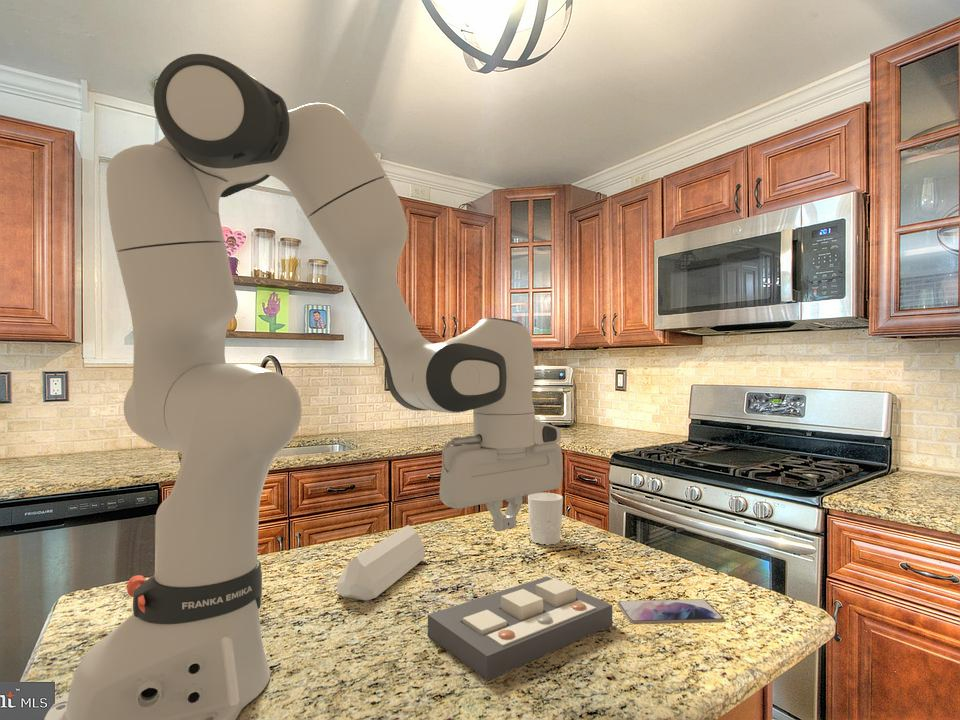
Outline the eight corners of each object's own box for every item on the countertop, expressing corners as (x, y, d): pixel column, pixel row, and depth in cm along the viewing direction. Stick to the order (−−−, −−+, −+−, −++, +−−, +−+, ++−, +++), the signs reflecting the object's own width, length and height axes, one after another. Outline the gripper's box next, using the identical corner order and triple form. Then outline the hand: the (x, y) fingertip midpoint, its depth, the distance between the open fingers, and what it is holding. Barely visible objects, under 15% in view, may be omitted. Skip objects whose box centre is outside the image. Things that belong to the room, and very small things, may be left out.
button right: (555, 614, 79) (555, 594, 79) (535, 604, 83) (535, 584, 83) (575, 606, 82) (575, 587, 82) (555, 596, 85) (555, 578, 85)
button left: (481, 652, 71) (481, 630, 71) (462, 639, 74) (462, 617, 74) (506, 642, 73) (506, 620, 73) (487, 630, 77) (487, 609, 77)
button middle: (520, 627, 75) (520, 606, 75) (501, 616, 78) (501, 596, 79) (543, 619, 78) (543, 598, 78) (523, 608, 81) (523, 588, 81)
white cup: (553, 548, 114) (553, 502, 114) (521, 542, 118) (521, 497, 119) (568, 539, 121) (568, 495, 121) (537, 533, 125) (537, 491, 125)
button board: (487, 680, 65) (487, 652, 65) (427, 635, 76) (427, 611, 76) (612, 625, 80) (612, 602, 80) (547, 593, 91) (547, 573, 91)
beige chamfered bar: (378, 584, 85) (437, 540, 108) (345, 558, 87) (410, 519, 110) (358, 621, 86) (420, 569, 109) (326, 594, 88) (393, 548, 111)
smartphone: (726, 619, 81) (630, 621, 80) (726, 624, 81) (630, 626, 80) (704, 598, 88) (616, 600, 87) (704, 603, 88) (616, 605, 87)
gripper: (456, 441, 67) (456, 550, 67) (569, 428, 79) (570, 521, 79) (430, 436, 72) (430, 537, 72) (540, 425, 84) (541, 511, 84)
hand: (504, 528), depth 76 cm, fingers closed
